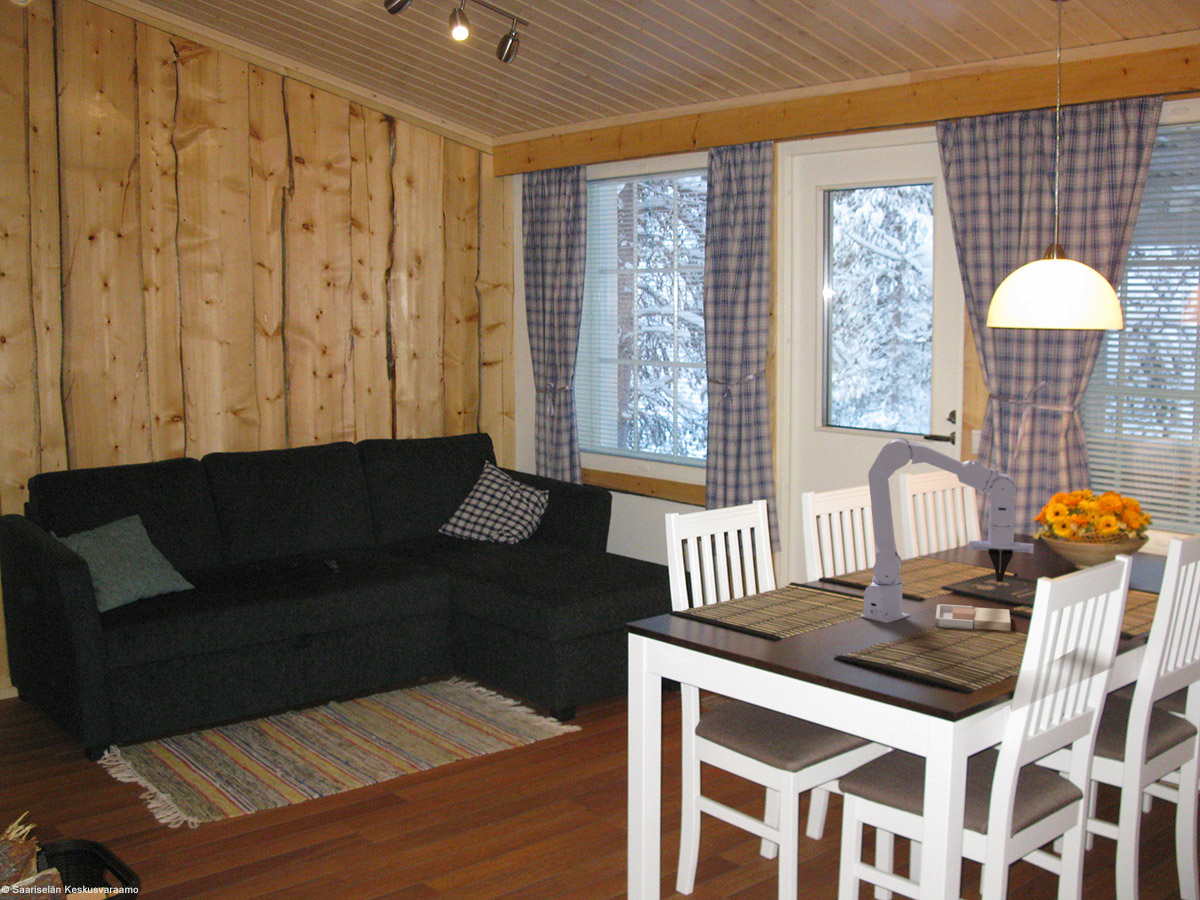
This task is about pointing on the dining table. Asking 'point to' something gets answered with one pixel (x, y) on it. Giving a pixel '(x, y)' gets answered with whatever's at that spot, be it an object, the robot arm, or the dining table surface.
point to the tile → (963, 614)
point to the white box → (992, 619)
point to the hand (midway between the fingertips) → (999, 580)
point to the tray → (946, 614)
